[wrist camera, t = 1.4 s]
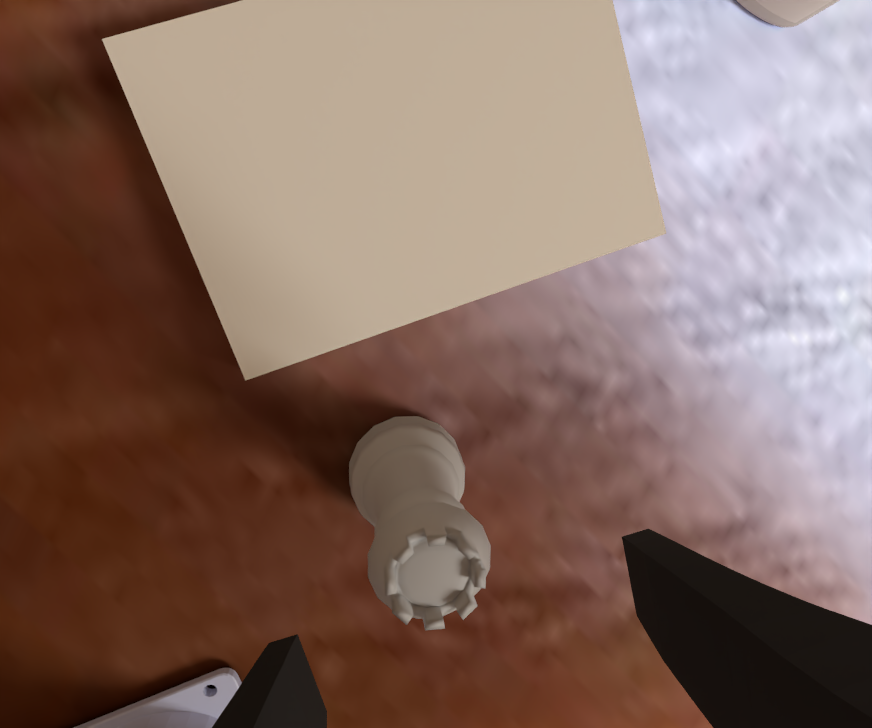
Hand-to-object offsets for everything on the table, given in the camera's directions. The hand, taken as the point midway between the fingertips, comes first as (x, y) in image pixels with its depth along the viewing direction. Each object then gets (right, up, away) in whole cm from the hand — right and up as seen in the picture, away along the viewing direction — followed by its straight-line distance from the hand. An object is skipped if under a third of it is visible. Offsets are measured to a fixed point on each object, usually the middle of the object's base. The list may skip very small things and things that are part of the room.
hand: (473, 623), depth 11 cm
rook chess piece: (-2, +1, +10) cm, 10 cm away
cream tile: (-2, +13, +8) cm, 15 cm away
